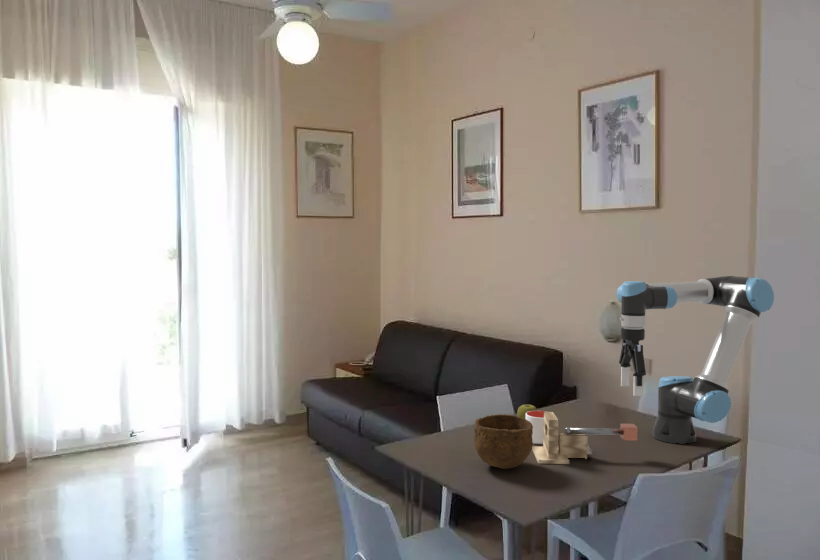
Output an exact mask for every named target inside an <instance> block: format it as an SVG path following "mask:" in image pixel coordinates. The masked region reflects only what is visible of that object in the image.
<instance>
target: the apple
mask: <svg viewBox="0 0 820 560" xmlns="http://www.w3.org/2000/svg"><path fill="white" fill-rule="evenodd" d="M516 411H517V412H516V413H517V414H516V416H517V417H521V418H524V419H525V418H526V412H529V411H538V408H537V407H536V406H535V405H532V404H521V405H520V406H519V407H518V408H517V410H516Z"/></svg>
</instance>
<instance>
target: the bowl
mask: <svg viewBox="0 0 820 560" xmlns="http://www.w3.org/2000/svg"><path fill="white" fill-rule="evenodd" d="M473 428H474V430H473V431H474V437H473V443H474V448H475V451H476V453H477V455H478V456H479V458H480V459H481V461H483V462H484V463H485V464H486V465H488V466H491V467H494V468H499V469H502V470H503V469H504V470H507V469H508V470H509V469H512V468H517V467H518V466H520V465H521V464H522V463H524V461H526V460H527V458H528V456H529V455H530V454H531V452H532V446H533V441H532V434H533V426H532V423H531V422H530V421H528V420H526V419H524V418H521V417H518V415H512V414H507V413H506V414H504V413H503V414H499V413H498V414H492V415H487V416H483V417H479V418H476V420H475V421H474V427H473Z"/></svg>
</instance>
